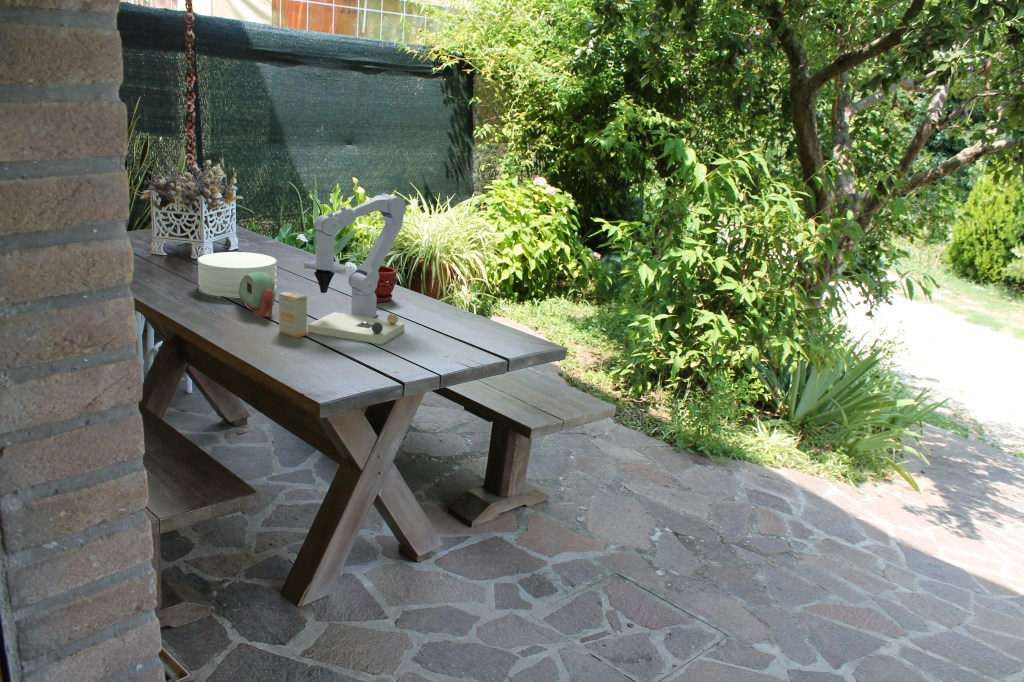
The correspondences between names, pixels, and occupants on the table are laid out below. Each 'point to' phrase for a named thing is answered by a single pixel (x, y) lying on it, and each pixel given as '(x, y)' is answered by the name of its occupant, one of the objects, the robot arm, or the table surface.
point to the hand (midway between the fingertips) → (323, 292)
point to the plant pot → (385, 283)
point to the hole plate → (354, 328)
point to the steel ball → (365, 325)
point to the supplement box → (293, 314)
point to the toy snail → (258, 293)
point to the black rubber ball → (377, 327)
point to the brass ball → (392, 319)
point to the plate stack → (231, 271)
